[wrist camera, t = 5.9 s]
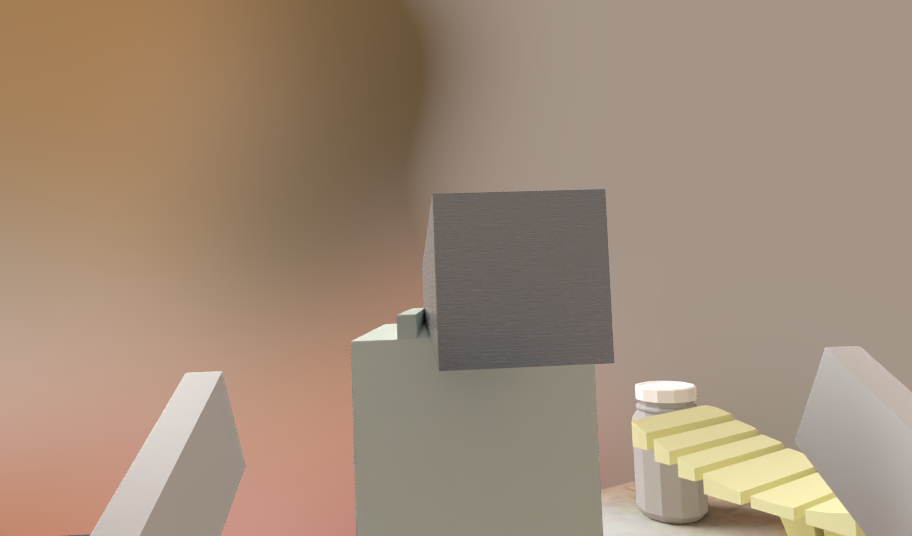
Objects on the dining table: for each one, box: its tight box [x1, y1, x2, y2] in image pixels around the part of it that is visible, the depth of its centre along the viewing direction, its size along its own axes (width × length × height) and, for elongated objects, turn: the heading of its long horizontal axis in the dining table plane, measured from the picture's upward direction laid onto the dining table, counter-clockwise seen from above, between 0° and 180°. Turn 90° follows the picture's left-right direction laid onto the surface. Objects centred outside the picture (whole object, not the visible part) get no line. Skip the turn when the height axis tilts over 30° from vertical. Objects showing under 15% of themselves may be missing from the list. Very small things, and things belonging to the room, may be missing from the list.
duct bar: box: [422, 189, 614, 371], centre depth 28 cm, size 30×4×4 cm, turn 4°
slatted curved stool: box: [632, 405, 866, 536], centre depth 55 cm, size 30×16×18 cm, turn 32°
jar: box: [632, 381, 708, 524], centre depth 84 cm, size 10×10×18 cm
